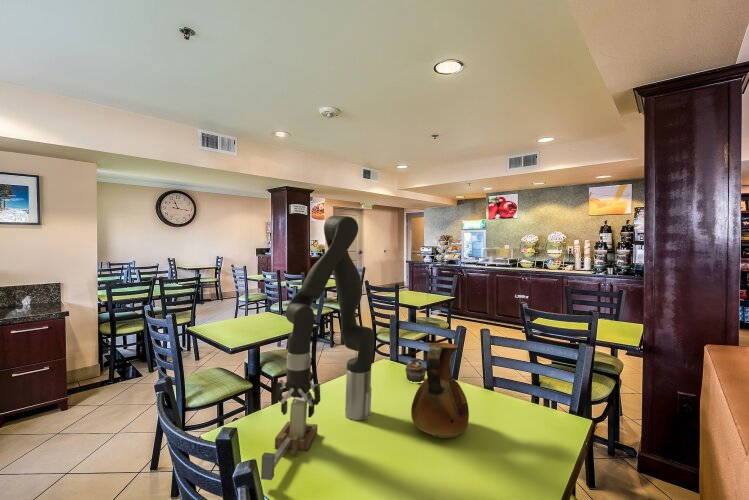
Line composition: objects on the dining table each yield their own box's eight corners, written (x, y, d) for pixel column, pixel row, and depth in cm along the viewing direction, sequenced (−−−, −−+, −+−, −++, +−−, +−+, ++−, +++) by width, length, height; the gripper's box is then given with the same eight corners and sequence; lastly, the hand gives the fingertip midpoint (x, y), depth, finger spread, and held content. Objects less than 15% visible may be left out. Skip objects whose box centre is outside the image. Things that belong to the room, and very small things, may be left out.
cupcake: (404, 383, 162) (405, 362, 162) (406, 375, 172) (406, 355, 172) (425, 385, 161) (426, 364, 161) (425, 377, 170) (426, 357, 170)
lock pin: (292, 447, 105) (292, 427, 105) (271, 480, 90) (272, 457, 90) (283, 446, 105) (284, 426, 105) (261, 479, 90) (261, 456, 90)
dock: (317, 433, 117) (317, 418, 117) (303, 457, 104) (304, 440, 104) (287, 430, 119) (287, 415, 119) (270, 454, 105) (271, 436, 105)
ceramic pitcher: (472, 423, 128) (475, 341, 127) (461, 452, 109) (465, 357, 109) (420, 411, 136) (423, 334, 135) (402, 436, 118) (405, 347, 117)
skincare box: (293, 433, 116) (294, 396, 116) (306, 433, 116) (307, 396, 116) (288, 443, 110) (289, 405, 109) (303, 444, 110) (304, 405, 109)
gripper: (272, 367, 110) (271, 418, 110) (316, 371, 108) (315, 423, 108) (282, 359, 117) (281, 407, 118) (323, 362, 115) (322, 411, 116)
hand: (297, 415), depth 113 cm, fingers open, 8 cm apart
